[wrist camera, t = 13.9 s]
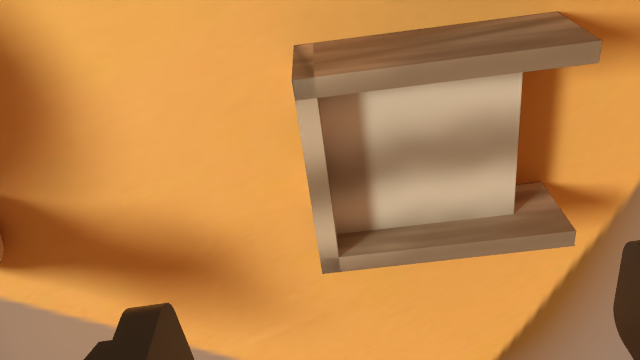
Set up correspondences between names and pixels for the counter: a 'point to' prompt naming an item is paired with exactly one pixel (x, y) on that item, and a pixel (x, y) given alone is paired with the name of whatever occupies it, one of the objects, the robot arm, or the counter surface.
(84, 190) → the counter surface
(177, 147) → the counter surface
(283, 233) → the counter surface
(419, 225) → the crate
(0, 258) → the plastic bottle
